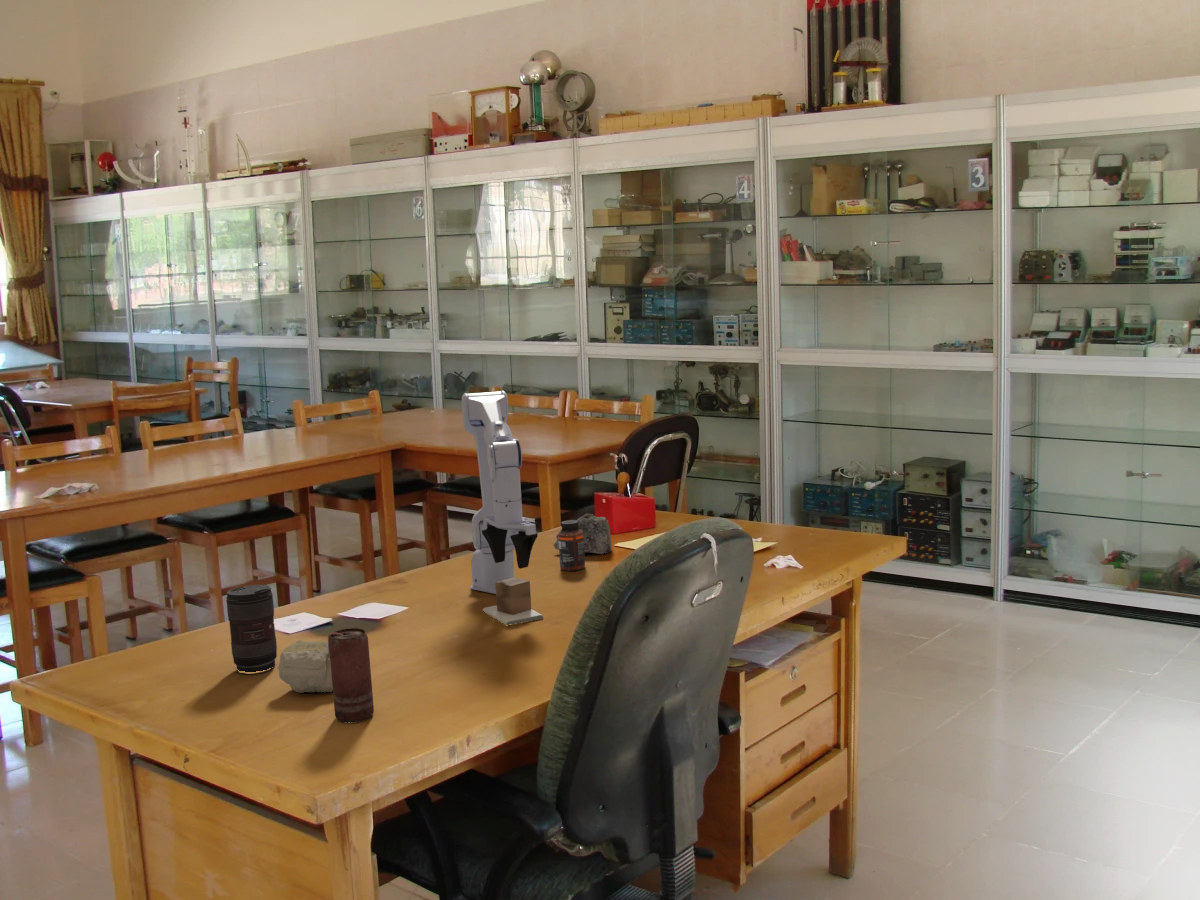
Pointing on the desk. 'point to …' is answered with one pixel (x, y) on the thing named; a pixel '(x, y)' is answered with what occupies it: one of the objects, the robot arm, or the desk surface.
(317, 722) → the desk surface
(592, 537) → the mineral rock
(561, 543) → the supplement bottle
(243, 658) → the camera lens
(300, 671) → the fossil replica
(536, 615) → the external hard drive
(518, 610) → the walnut block
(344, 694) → the can
